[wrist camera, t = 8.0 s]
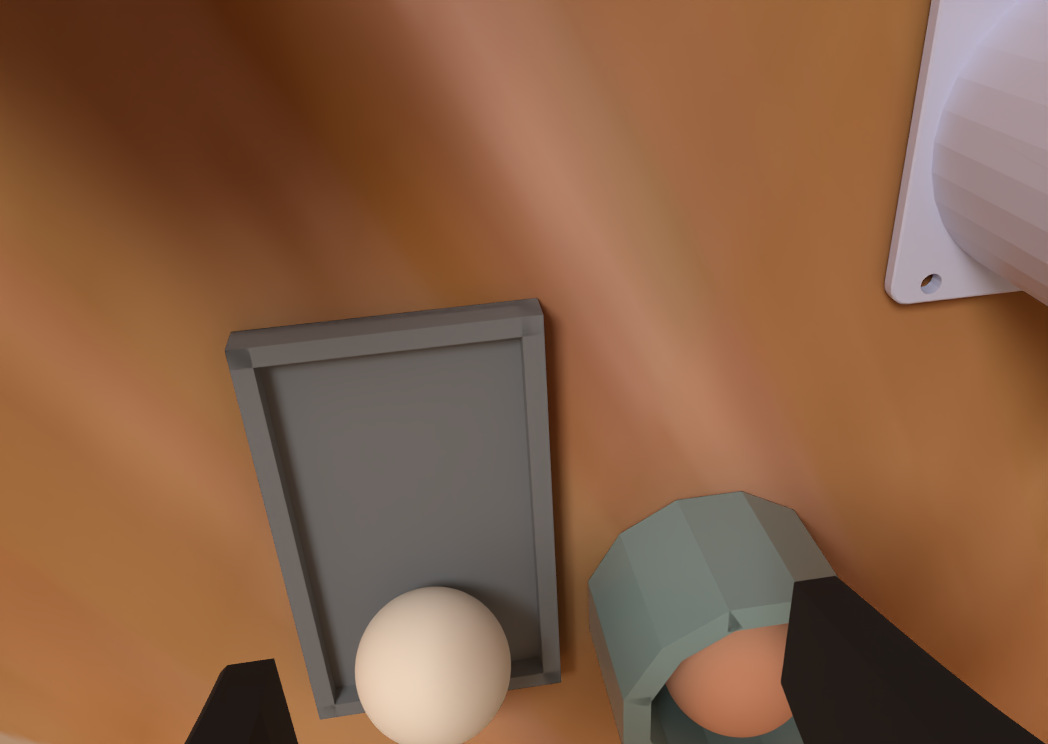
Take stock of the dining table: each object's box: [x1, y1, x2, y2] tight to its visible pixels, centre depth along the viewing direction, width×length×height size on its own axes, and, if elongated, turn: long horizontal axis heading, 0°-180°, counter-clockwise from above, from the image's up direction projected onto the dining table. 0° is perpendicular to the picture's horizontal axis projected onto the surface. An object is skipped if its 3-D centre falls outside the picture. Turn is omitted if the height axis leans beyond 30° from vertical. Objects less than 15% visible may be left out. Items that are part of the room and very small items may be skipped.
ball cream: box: [355, 586, 511, 744], centre depth 22 cm, size 4×4×4 cm
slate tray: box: [225, 298, 561, 719], centre depth 22 cm, size 7×12×1 cm, turn 3°
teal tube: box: [588, 491, 838, 744], centre depth 24 cm, size 7×7×4 cm
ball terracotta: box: [665, 623, 793, 738], centre depth 23 cm, size 4×4×4 cm
